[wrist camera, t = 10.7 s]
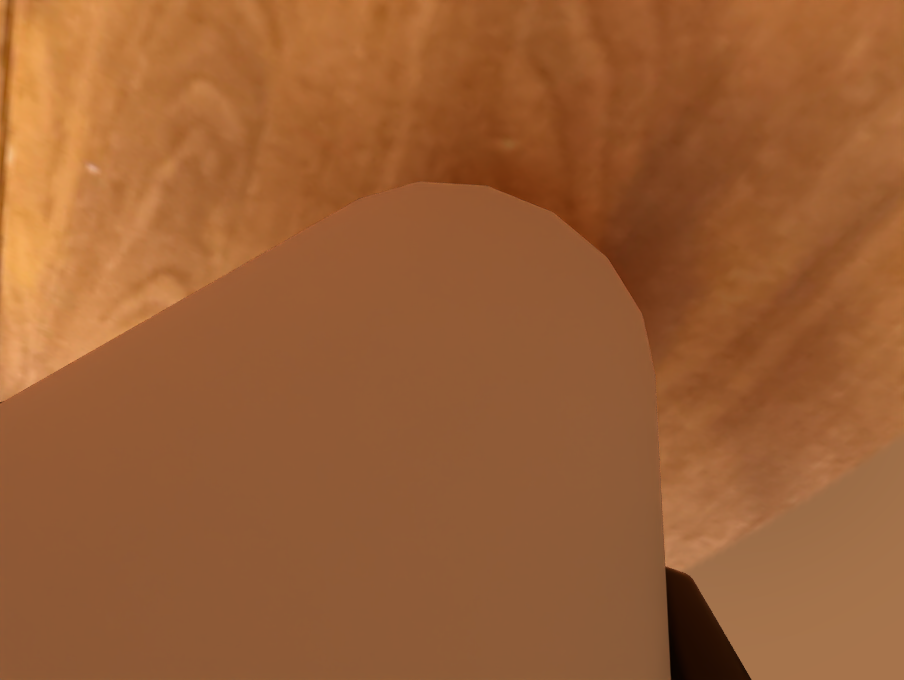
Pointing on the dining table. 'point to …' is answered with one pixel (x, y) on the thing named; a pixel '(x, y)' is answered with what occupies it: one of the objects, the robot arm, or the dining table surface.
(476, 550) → the can
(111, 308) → the dining table surface
